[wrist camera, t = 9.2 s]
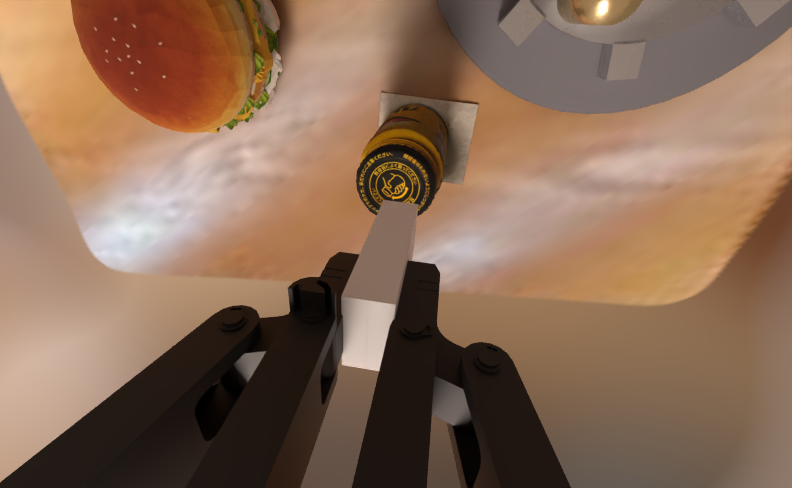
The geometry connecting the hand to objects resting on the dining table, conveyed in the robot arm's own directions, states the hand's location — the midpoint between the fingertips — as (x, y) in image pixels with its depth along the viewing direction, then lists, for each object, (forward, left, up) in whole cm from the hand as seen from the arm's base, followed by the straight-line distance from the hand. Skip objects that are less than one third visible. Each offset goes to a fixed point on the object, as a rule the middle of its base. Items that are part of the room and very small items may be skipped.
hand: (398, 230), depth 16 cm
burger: (-6, -18, -20) cm, 28 cm away
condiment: (+2, 0, -20) cm, 20 cm away
